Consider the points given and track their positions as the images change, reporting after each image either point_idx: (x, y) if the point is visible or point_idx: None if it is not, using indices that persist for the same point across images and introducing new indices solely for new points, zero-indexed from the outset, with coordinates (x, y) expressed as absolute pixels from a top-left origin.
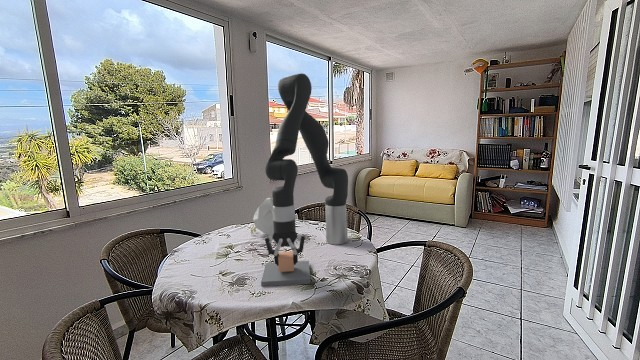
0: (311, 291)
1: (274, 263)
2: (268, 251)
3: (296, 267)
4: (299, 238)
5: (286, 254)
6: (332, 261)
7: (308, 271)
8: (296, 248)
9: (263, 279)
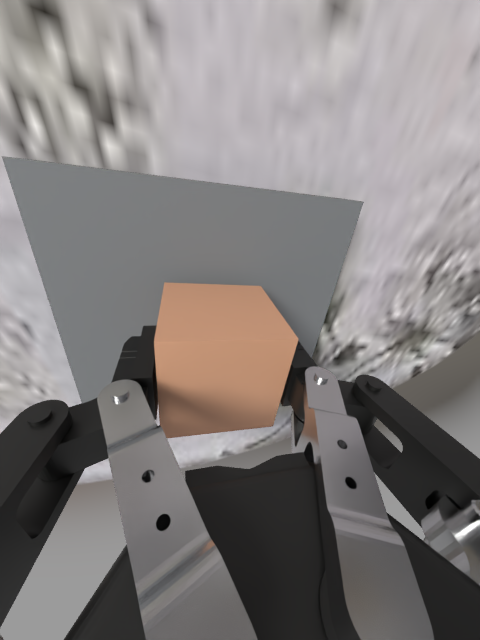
0: (284, 413)
1: (101, 191)
2: (33, 489)
3: (267, 287)
4: (458, 564)
5: (229, 391)
6: (473, 188)
7: (314, 335)
8: (338, 400)
9: (89, 391)
